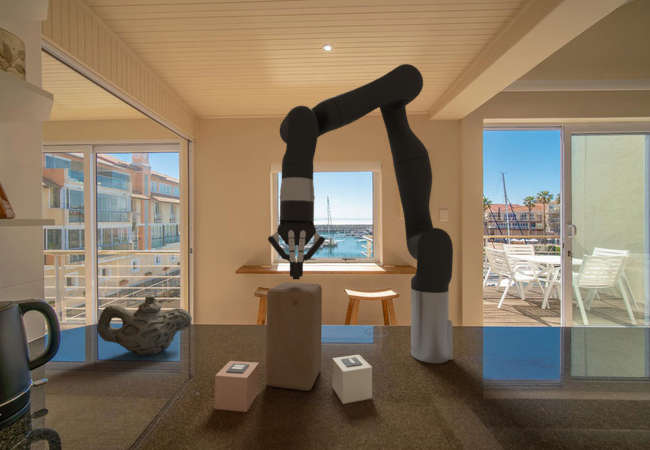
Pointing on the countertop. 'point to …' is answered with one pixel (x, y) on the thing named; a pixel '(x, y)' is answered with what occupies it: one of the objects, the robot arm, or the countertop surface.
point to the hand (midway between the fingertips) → (295, 278)
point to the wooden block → (293, 335)
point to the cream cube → (351, 378)
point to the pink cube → (236, 386)
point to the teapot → (143, 326)
